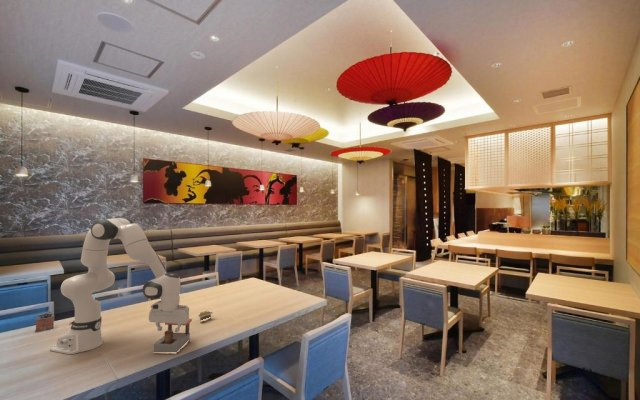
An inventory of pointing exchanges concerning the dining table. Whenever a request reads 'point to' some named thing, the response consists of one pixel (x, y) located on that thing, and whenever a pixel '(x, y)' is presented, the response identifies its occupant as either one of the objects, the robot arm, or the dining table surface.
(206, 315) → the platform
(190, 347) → the dining table surface
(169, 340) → the walnut peg
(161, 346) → the socket stand
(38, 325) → the brick wall piece
